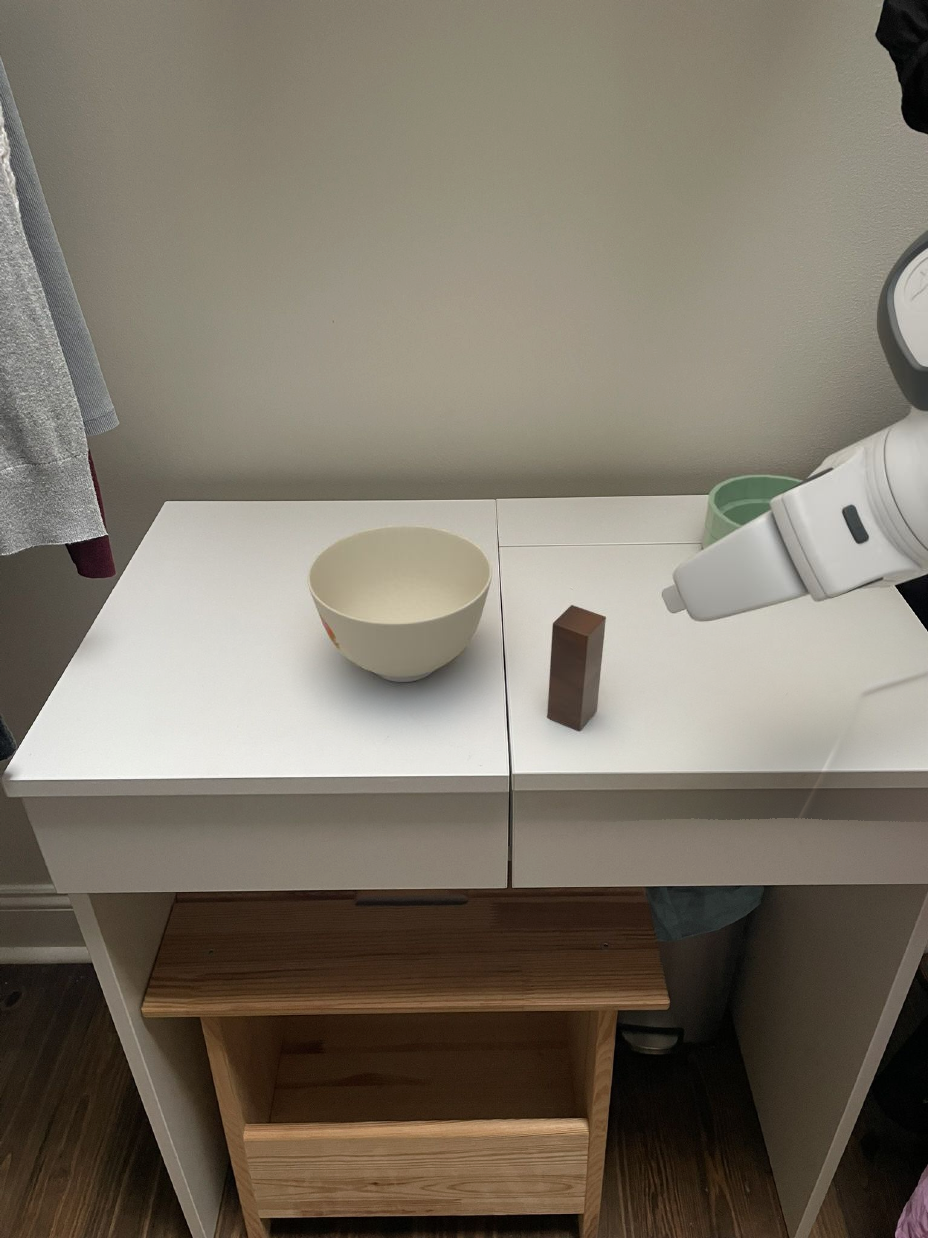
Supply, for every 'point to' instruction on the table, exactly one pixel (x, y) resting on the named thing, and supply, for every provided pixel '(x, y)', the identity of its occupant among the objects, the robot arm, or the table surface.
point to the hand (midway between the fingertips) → (710, 582)
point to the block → (575, 666)
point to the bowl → (400, 597)
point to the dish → (740, 503)
